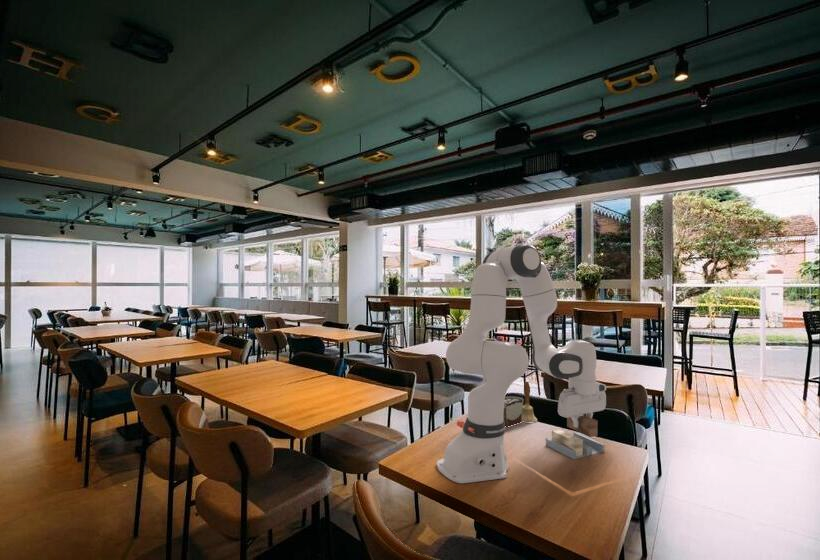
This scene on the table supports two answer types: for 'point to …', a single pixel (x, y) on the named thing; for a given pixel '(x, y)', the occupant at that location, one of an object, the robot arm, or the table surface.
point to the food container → (512, 410)
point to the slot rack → (588, 449)
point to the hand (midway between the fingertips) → (581, 425)
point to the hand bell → (527, 406)
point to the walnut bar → (585, 425)
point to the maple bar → (568, 441)
